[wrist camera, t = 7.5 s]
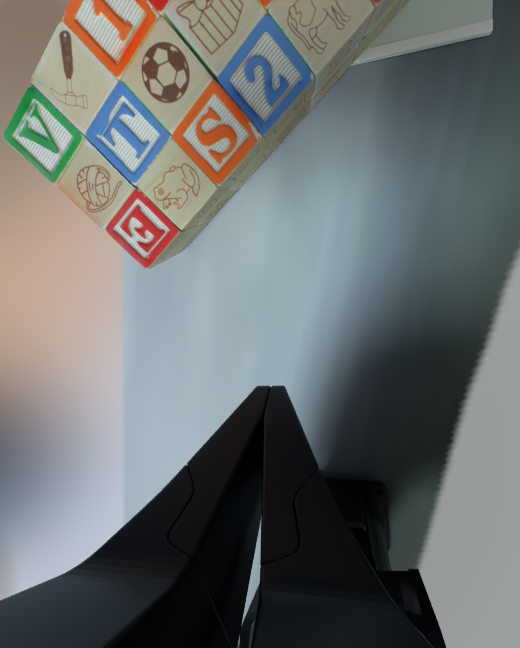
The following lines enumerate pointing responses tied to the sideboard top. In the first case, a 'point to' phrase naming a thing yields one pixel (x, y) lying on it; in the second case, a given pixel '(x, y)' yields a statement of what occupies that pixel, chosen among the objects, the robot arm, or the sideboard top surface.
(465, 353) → the sideboard top surface
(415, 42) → the dock pad
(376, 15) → the stack of blocks
